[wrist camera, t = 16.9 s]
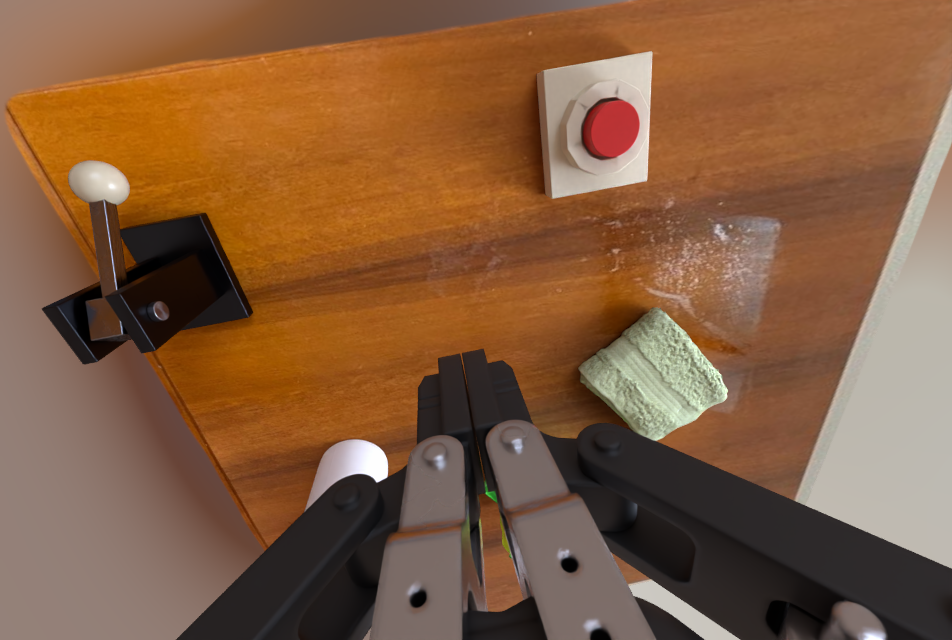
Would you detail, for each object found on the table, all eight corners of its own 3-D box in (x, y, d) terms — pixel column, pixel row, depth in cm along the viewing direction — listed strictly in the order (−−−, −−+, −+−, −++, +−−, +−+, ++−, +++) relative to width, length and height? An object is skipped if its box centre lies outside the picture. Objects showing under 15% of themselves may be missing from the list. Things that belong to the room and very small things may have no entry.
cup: (368, 427, 47) (354, 499, 38) (413, 488, 52) (410, 563, 43) (307, 452, 47) (280, 529, 38) (358, 510, 53) (344, 589, 44)
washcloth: (642, 439, 53) (655, 457, 50) (567, 367, 46) (577, 383, 43) (724, 381, 50) (743, 396, 47) (657, 294, 43) (674, 305, 40)
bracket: (126, 227, 34) (-8, 270, 23) (206, 212, 34) (109, 249, 24) (183, 326, 38) (92, 399, 28) (253, 312, 39) (190, 380, 28)
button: (581, 106, 31) (590, 105, 29) (630, 97, 31) (641, 96, 29) (583, 159, 33) (591, 161, 31) (629, 151, 33) (639, 152, 31)
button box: (536, 73, 33) (549, 67, 29) (639, 55, 33) (665, 46, 29) (545, 195, 37) (558, 202, 33) (635, 178, 37) (657, 183, 34)
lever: (95, 176, 30) (51, 156, 26) (137, 169, 30) (98, 147, 27) (119, 343, 29) (76, 342, 26) (162, 334, 29) (124, 333, 26)
